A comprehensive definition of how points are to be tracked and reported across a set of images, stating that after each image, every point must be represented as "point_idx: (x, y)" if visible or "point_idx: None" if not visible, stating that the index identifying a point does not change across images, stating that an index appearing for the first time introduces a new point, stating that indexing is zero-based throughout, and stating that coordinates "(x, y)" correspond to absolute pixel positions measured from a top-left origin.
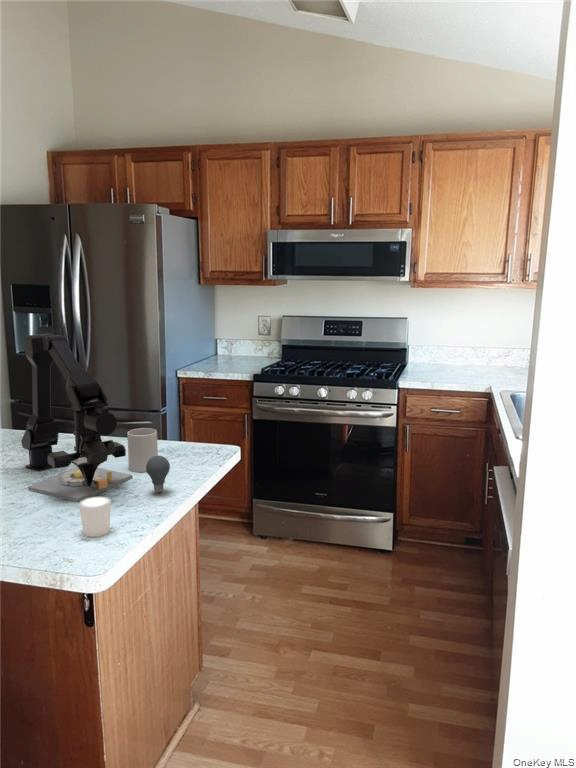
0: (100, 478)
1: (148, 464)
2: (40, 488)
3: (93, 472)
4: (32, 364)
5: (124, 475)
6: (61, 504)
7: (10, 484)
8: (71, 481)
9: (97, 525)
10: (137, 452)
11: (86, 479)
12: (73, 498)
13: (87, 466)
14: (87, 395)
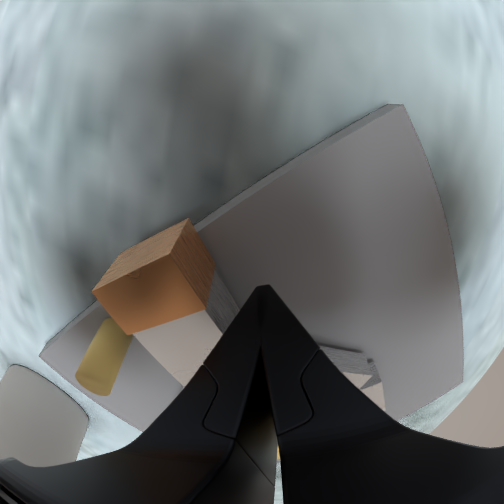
0: (154, 337)
1: None
2: (456, 360)
3: (207, 386)
4: None
5: (67, 369)
6: (466, 140)
7: (451, 407)
8: (360, 379)
9: None
10: (18, 441)
11: (299, 329)
12: (418, 143)
13: (355, 491)
14: None
